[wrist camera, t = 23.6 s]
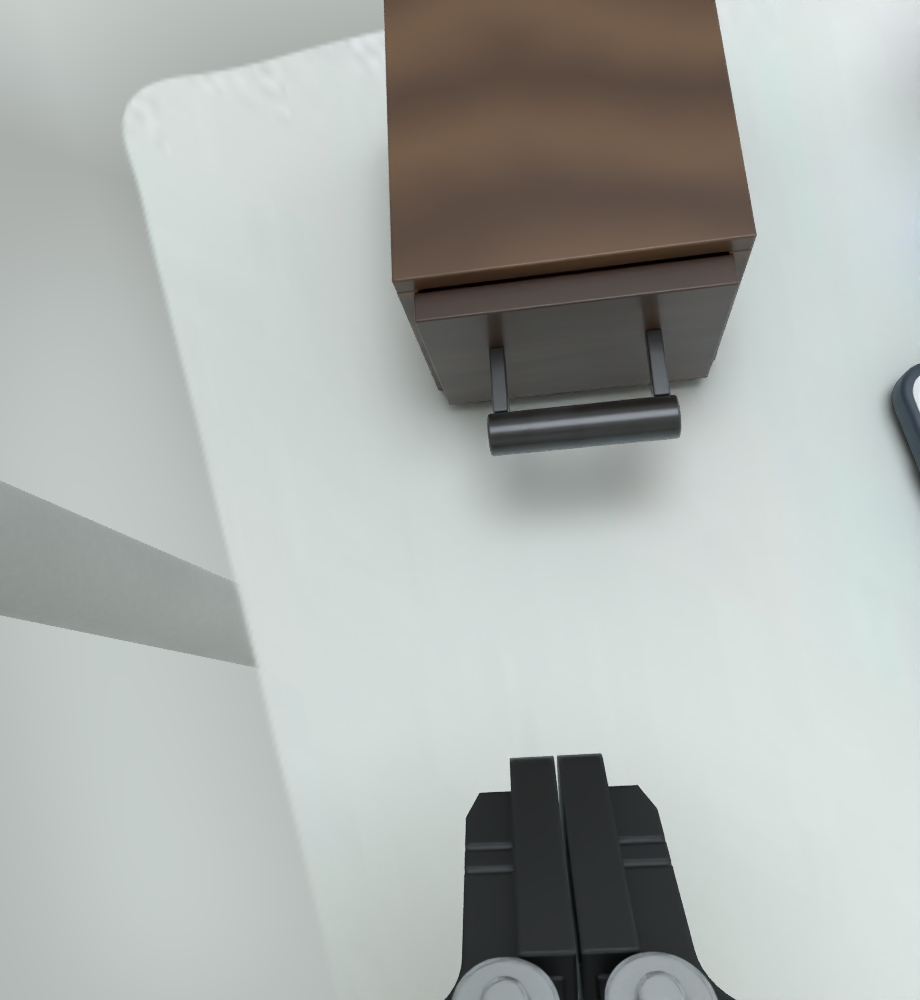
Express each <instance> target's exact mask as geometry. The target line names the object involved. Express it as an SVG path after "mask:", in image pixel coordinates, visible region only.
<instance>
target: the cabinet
mask: <svg viewBox="0 0 920 1000" xmlns="http://www.w3.org/2000/svg"><path fill="white" fill-rule="evenodd" d="M384 21H385V55H386V89H387V124H388V158H389V192H390V226H391V261H392V282H393V284H394V287H395V289H396V291H397V294H398V297H399V299H400V301H401V304H402V306H403V308H404V311H405V313H406V315H407V318H408V320H409V322H410V324H411V327H412V329H413V331H414V334H415V336H416V338H417V341H418V343H419V345H420V348H421V350H422V352H423V355H424V357H425V359H426V362H427V364H428V366H429V369H430V371H431V373H432V376H433V378H434V380H435V383H436V385H437V387H438V390H442V389H443V388H442V386H441V383H440V381H439V379H438V376H437V374H436V371H435V369H434V367H433V364H432V362H431V359H430V357H429V355H428V352H427V350H426V347H425V345H424V343H423V340H422V338H421V335H420V333H419V331H418V328H417V326H416V323H415V316H414V294H416V293H424V292H432V291H440V290H441V288H440V287H445V286H453V285H461V284H469V283H477V282H485V281H493V280H501V279H509V278H517V277H525V276H533V275H541V274H549V273H557V272H565V271H573V270H581V269H589V268H597V267H605V266H613V265H621V264H629V263H637V262H645V261H654V260H662V259H670V258H678V257H686V256H694V255H701V256H700V258H707V257H715V256H723V255H731V254H733V255H734V256H735V262H736V268H737V274H738V280H739V284H738V287H737V290H736V293H735V296H734V299H733V302H732V305H731V308H730V311H729V314H728V317H727V320H726V323H725V326H724V329H723V332H722V335H721V338H720V341H719V343H718V346H717V349H716V352H715V355H714V358H713V360H715V357H716V354H717V350H718V347H719V345H720V342H721V339H722V336H723V333H724V330H725V327H726V324H727V321H728V318H729V315H730V312H731V309H732V306H733V303H734V300H735V297H736V294H737V291H738V288H739V286H740V283H741V280H742V277H743V274H744V271H745V268H746V265H747V262H748V259H749V256H750V253H751V250H752V247H753V244H754V241H755V238H756V235H757V234H756V229H755V223H754V217H753V212H752V206H751V200H750V195H749V189H748V183H747V178H746V172H745V167H744V161H743V155H742V150H741V144H740V138H739V133H738V127H737V121H736V116H735V110H734V104H733V99H732V93H731V87H730V82H729V76H728V71H727V65H726V59H725V54H724V48H723V42H722V37H721V31H720V25H719V20H718V14H717V8H716V3H715V0H384Z"/></svg>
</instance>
